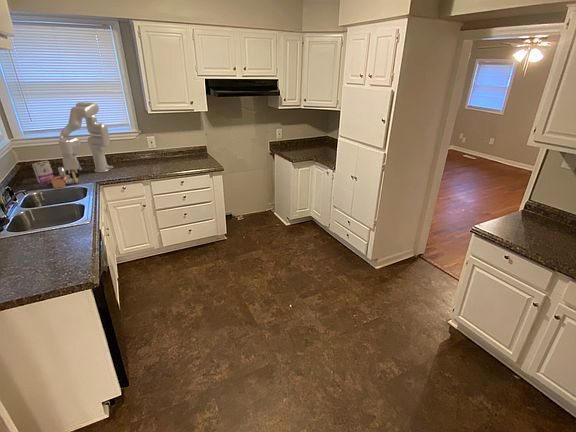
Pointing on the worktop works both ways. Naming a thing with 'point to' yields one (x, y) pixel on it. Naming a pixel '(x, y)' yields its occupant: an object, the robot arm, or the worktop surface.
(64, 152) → the robot arm
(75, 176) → the locking pin
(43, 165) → the candy bar box
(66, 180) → the rosette post
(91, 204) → the worktop surface
